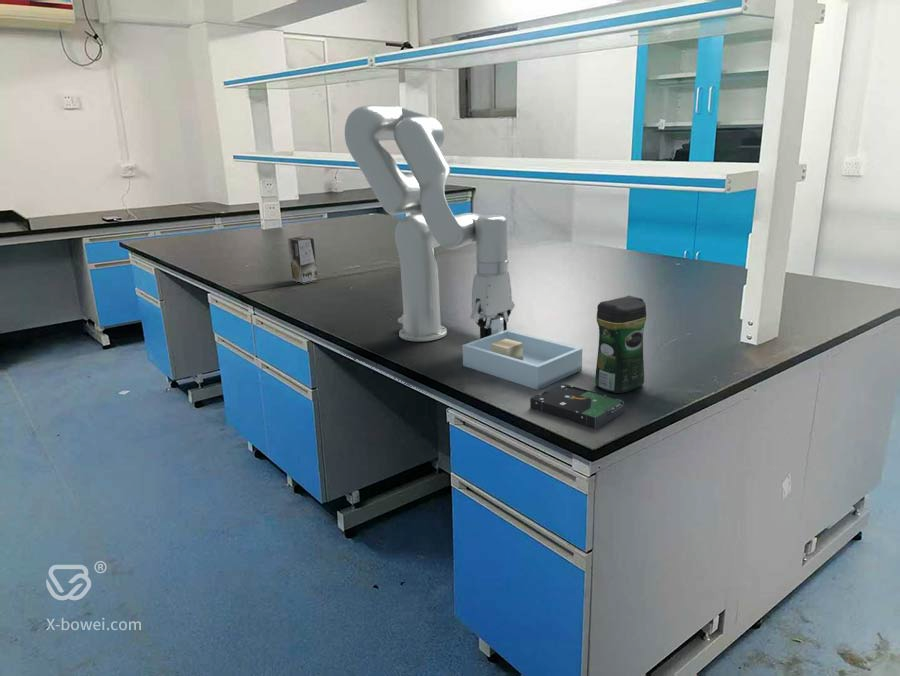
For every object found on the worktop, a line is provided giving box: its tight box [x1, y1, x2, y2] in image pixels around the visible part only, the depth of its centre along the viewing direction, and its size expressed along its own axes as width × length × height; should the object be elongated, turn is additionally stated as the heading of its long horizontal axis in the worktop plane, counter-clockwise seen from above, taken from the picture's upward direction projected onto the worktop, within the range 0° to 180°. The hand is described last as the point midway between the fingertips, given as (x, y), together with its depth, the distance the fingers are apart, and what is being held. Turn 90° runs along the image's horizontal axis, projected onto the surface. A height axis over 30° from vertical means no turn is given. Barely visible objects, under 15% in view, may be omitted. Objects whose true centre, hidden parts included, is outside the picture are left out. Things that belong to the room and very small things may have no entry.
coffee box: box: [287, 235, 319, 282], centre depth 240 cm, size 9×6×16 cm
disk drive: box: [529, 382, 626, 430], centre depth 124 cm, size 10×3×15 cm
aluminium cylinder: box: [483, 314, 504, 335], centre depth 162 cm, size 5×5×7 cm
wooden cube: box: [491, 339, 523, 360], centre depth 145 cm, size 5×5×5 cm
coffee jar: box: [594, 295, 647, 394], centre depth 132 cm, size 10×8×19 cm
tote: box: [461, 329, 583, 391], centre depth 146 cm, size 22×15×5 cm
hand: (493, 338), depth 163 cm, fingers closed on aluminium cylinder, 5 cm apart
